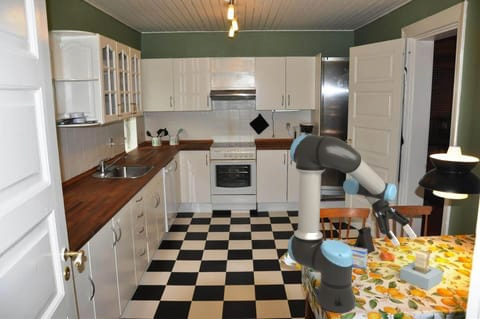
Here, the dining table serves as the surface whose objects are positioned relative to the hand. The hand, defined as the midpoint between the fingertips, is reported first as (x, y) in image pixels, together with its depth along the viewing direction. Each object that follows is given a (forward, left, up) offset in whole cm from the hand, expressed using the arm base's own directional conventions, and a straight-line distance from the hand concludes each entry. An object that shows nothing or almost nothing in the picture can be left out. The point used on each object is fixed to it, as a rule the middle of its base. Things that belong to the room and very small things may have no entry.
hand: (406, 241), depth 157 cm
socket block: (-1, -8, -15) cm, 17 cm away
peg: (0, -8, -14) cm, 16 cm away
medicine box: (-11, +17, -15) cm, 25 cm away
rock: (+7, +13, -16) cm, 22 cm away
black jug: (+7, +26, -15) cm, 31 cm away
